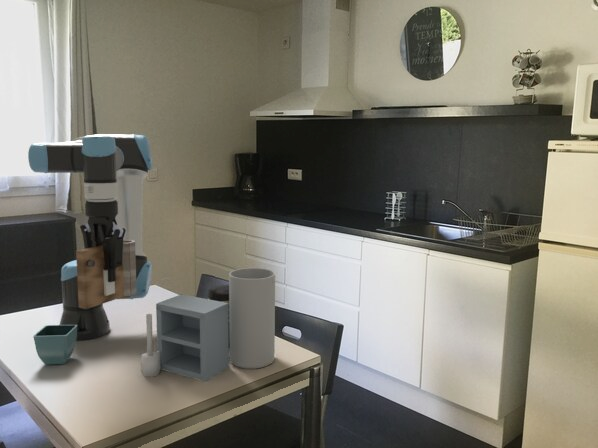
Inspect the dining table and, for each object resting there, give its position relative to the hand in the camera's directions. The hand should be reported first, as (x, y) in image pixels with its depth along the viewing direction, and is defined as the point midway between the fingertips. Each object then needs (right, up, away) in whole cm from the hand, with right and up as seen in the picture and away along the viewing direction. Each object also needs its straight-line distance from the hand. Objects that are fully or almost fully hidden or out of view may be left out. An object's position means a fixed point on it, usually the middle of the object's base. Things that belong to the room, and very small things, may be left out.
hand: (105, 293), depth 131 cm
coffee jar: (+26, -19, +26) cm, 42 cm away
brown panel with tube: (+1, -2, +1) cm, 2 cm away
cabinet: (+18, -22, +8) cm, 29 cm away
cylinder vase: (+35, -21, +15) cm, 44 cm away
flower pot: (-18, -21, +13) cm, 30 cm away
